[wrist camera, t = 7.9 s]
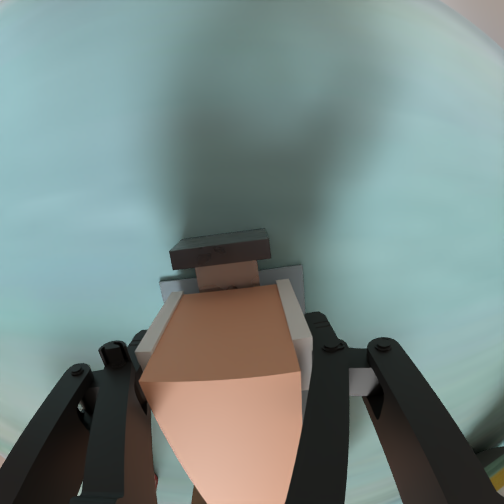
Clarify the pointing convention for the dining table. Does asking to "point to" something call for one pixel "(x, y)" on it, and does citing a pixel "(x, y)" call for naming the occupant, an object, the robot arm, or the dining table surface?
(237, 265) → the track
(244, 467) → the block
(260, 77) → the dining table surface
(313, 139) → the dining table surface
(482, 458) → the planter
